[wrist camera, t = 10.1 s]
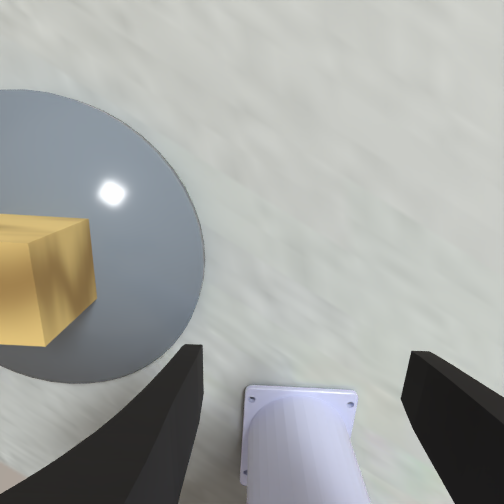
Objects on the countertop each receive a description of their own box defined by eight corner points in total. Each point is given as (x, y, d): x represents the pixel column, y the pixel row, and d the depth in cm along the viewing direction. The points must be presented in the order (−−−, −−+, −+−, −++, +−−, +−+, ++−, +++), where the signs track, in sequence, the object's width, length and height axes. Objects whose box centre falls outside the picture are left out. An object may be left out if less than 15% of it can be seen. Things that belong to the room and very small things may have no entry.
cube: (97, 298, 19) (45, 346, 14) (15, 293, 19) (-64, 340, 14) (88, 218, 18) (27, 243, 13) (0, 213, 18) (-95, 236, 13)
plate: (203, 379, 22) (201, 389, 21) (-51, 366, 22) (-65, 376, 21) (206, 103, 17) (203, 100, 16) (-134, 82, 16) (-157, 78, 16)
